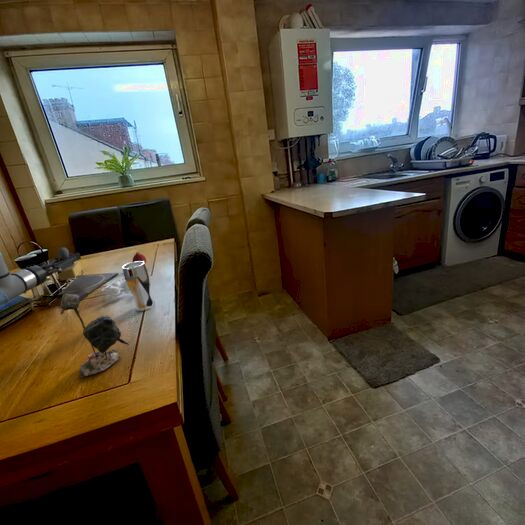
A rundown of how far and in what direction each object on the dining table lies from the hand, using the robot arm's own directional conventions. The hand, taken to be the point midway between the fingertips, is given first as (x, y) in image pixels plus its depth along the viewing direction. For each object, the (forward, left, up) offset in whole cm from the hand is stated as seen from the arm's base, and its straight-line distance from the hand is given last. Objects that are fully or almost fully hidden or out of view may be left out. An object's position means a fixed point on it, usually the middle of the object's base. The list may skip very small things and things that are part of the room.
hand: (75, 255), depth 120 cm
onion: (+21, +11, -12) cm, 27 cm away
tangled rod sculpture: (+26, -11, -12) cm, 31 cm away
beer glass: (+43, -27, -12) cm, 53 cm away
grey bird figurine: (+47, -54, -12) cm, 73 cm away
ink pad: (+10, -19, -11) cm, 25 cm away
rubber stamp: (0, -5, -7) cm, 9 cm away
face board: (+3, -5, -11) cm, 13 cm away
